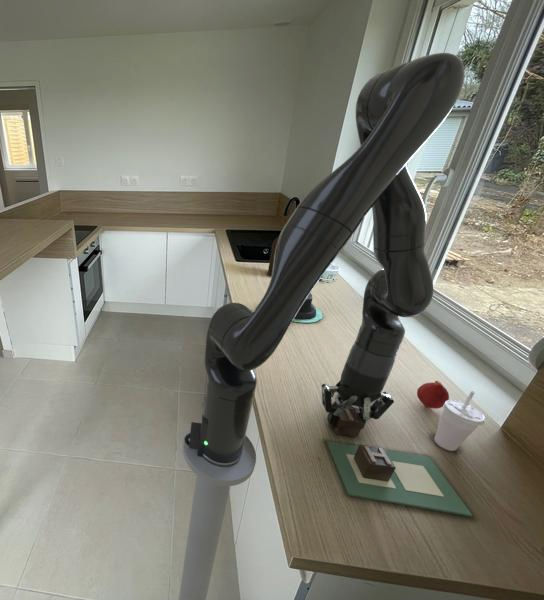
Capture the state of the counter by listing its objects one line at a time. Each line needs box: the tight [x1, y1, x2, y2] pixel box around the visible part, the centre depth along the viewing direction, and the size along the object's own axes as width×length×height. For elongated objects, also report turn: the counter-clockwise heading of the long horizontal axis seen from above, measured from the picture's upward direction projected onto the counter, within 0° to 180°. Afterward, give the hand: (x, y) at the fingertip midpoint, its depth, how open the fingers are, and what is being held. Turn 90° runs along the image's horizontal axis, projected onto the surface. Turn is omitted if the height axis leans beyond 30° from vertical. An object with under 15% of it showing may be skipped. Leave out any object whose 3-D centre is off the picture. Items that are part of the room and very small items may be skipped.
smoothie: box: [433, 390, 487, 452], centre depth 67 cm, size 6×6×14 cm
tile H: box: [354, 444, 396, 482], centre depth 62 cm, size 4×4×4 cm
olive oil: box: [267, 236, 279, 277], centre depth 161 cm, size 11×11×25 cm
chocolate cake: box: [292, 291, 324, 324], centre depth 127 cm, size 15×19×20 cm
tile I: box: [333, 407, 364, 438], centre depth 72 cm, size 4×4×4 cm
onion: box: [416, 380, 450, 409], centre depth 79 cm, size 6×6×8 cm
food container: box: [319, 263, 341, 283], centre depth 162 cm, size 12×12×6 cm
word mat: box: [326, 441, 473, 518], centre depth 63 cm, size 20×12×1 cm, turn 80°
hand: (343, 426), depth 73 cm, fingers closed on tile I, 4 cm apart
